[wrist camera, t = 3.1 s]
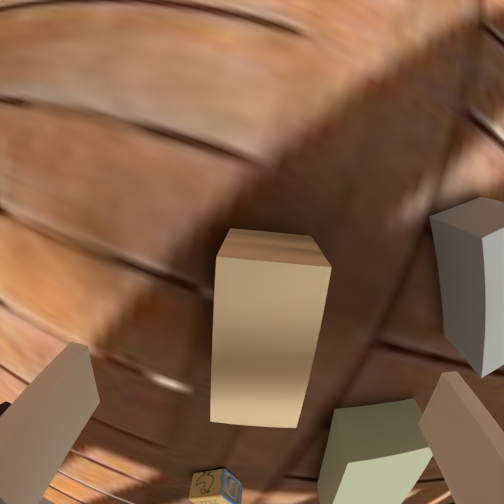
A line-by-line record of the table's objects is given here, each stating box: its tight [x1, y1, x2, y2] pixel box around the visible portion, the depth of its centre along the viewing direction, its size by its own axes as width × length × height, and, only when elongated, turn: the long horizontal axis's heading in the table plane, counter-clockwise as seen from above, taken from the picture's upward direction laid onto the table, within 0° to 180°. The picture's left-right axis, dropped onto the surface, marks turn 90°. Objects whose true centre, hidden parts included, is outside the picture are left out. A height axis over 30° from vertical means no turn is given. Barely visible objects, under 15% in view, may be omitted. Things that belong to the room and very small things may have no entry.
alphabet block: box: [189, 468, 242, 504], centre depth 20 cm, size 3×3×3 cm
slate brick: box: [429, 197, 504, 378], centre depth 13 cm, size 8×4×5 cm, turn 20°
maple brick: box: [210, 228, 332, 428], centre depth 14 cm, size 8×4×5 cm, turn 175°
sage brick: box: [317, 398, 433, 504], centre depth 18 cm, size 10×6×5 cm, turn 1°
